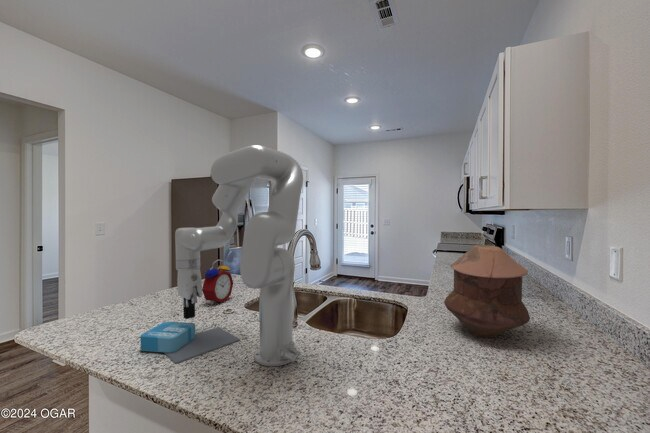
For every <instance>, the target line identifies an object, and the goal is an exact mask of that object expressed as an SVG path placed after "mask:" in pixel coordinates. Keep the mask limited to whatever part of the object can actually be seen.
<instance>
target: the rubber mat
mask: <svg viewBox="0 0 650 433" xmlns="http://www.w3.org/2000/svg"><path fill="white" fill-rule="evenodd" d="M240 341H241V339H240V338H239V337H237V336H235V335H234V334H232V333H230V332H228V331H226V330H225V329H224V328H221V327H220V326H217V327H214V328H211V329H207V330H204V331H201V332H199V333H195V338H194V339H192V340H191V341H190V342H188V343H187V344H186V345H184V346H183V347H181V348H180V349H179V350H177V351H176V352H172V353H165V352H163V353H164V355H165V356H167V357H168V358H169V360H171V361H172V363H174V365H177V364H180V363H183V362H185V361H188V360H190V359H194V358H196V357H199V356H202V355H204V354H207V353H209V352H213V351H215V350H219V349H220V348H223V346H224V347H226V346H229V345H231V344H234V343H237V342H240Z"/></svg>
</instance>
